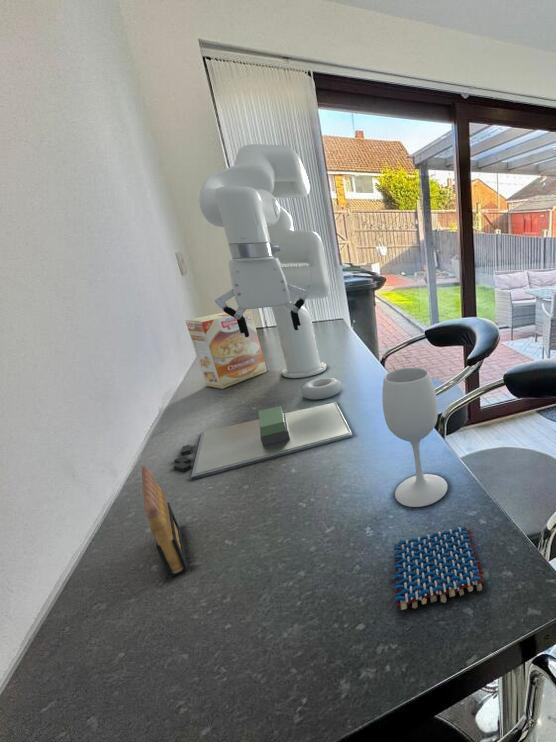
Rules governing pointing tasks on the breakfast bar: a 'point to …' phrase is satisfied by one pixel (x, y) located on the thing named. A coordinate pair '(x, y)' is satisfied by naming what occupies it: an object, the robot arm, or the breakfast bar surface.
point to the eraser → (273, 426)
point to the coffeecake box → (226, 349)
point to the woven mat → (435, 567)
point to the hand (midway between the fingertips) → (272, 332)
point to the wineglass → (413, 429)
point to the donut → (321, 388)
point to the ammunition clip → (163, 525)
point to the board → (246, 447)
